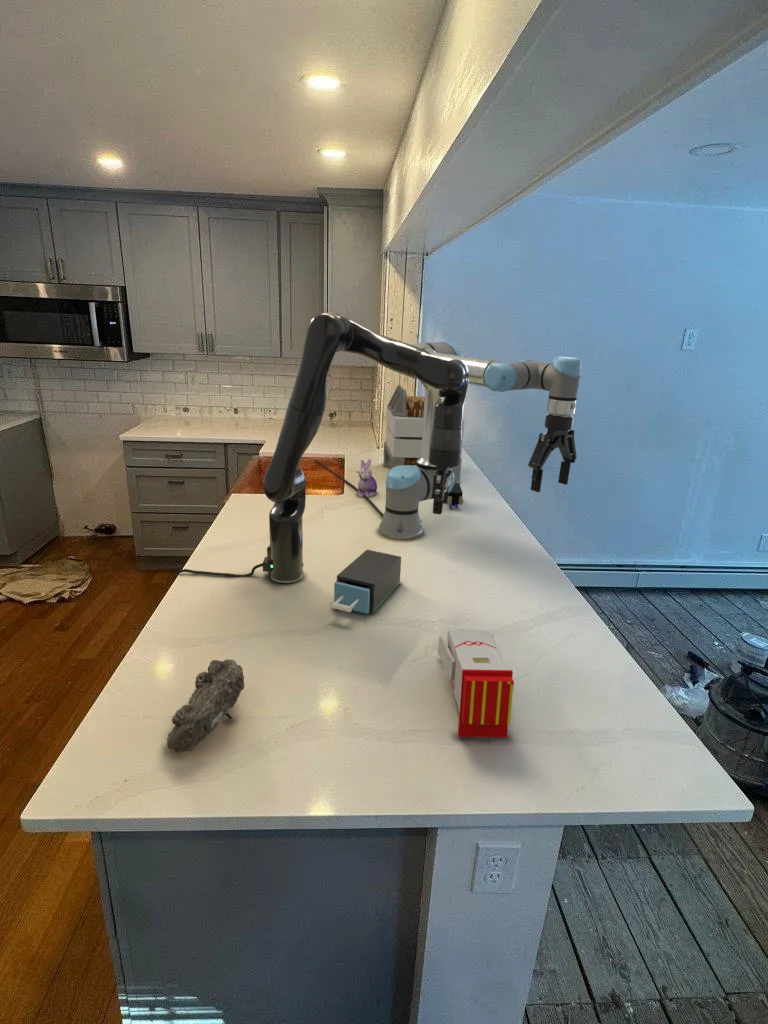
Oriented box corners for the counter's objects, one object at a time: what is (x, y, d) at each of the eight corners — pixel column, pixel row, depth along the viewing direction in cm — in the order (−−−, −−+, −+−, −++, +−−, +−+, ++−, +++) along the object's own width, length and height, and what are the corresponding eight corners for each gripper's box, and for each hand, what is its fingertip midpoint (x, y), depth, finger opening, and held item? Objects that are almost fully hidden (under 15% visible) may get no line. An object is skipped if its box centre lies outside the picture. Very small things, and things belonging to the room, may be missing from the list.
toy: (488, 613, 130) (523, 677, 101) (484, 667, 133) (517, 744, 104) (435, 612, 130) (455, 676, 101) (432, 666, 133) (451, 743, 103)
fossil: (192, 660, 117) (244, 628, 112) (224, 691, 120) (276, 661, 115) (142, 746, 98) (202, 712, 93) (182, 779, 101) (242, 748, 96)
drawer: (357, 625, 140) (358, 601, 138) (323, 616, 143) (323, 593, 141) (393, 585, 161) (394, 564, 158) (362, 578, 164) (363, 557, 162)
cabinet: (373, 613, 147) (374, 584, 144) (336, 604, 151) (336, 575, 148) (399, 583, 164) (401, 556, 161) (365, 575, 168) (366, 549, 165)
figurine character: (463, 514, 226) (458, 498, 239) (465, 496, 223) (460, 481, 236) (446, 513, 226) (442, 497, 239) (448, 496, 222) (444, 481, 236)
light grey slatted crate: (382, 463, 289) (386, 382, 275) (445, 464, 293) (451, 384, 279) (390, 482, 257) (394, 392, 243) (460, 483, 261) (468, 394, 247)
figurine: (361, 499, 234) (363, 463, 229) (351, 491, 242) (352, 457, 237) (382, 496, 238) (383, 461, 233) (371, 489, 246) (372, 456, 241)
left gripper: (435, 437, 144) (430, 498, 150) (424, 449, 131) (419, 515, 137) (464, 440, 142) (458, 501, 148) (456, 453, 129) (450, 519, 135)
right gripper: (544, 420, 148) (534, 497, 155) (596, 413, 163) (584, 483, 170) (521, 415, 153) (512, 490, 161) (573, 409, 169) (562, 477, 176)
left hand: (440, 508), depth 142 cm, fingers open, 8 cm apart
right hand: (549, 487), depth 165 cm, fingers open, 13 cm apart
